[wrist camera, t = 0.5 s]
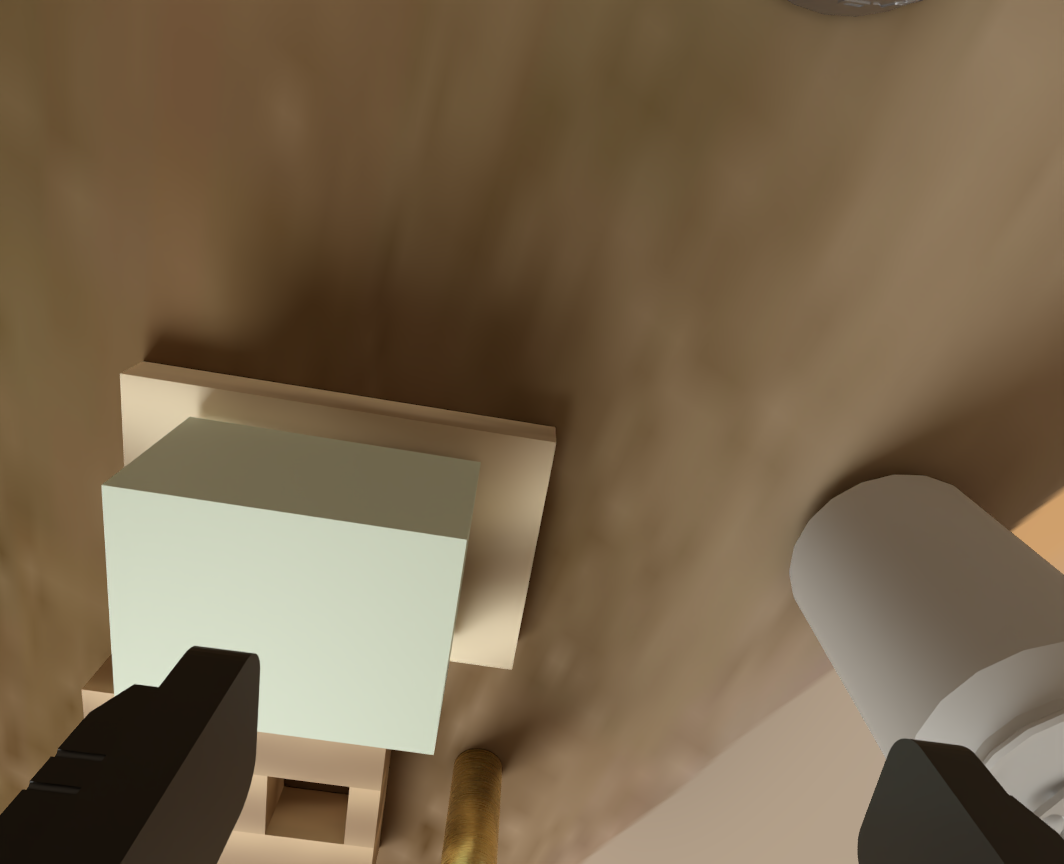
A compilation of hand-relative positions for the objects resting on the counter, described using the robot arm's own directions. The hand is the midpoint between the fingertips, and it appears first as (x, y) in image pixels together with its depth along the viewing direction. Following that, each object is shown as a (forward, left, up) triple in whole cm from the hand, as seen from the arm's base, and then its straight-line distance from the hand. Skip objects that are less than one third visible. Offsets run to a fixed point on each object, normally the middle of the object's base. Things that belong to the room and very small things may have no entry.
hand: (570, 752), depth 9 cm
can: (+5, +14, -18) cm, 23 cm away
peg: (+19, 0, -18) cm, 26 cm away
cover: (+7, -7, -16) cm, 19 cm away
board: (+7, -7, -18) cm, 20 cm away
